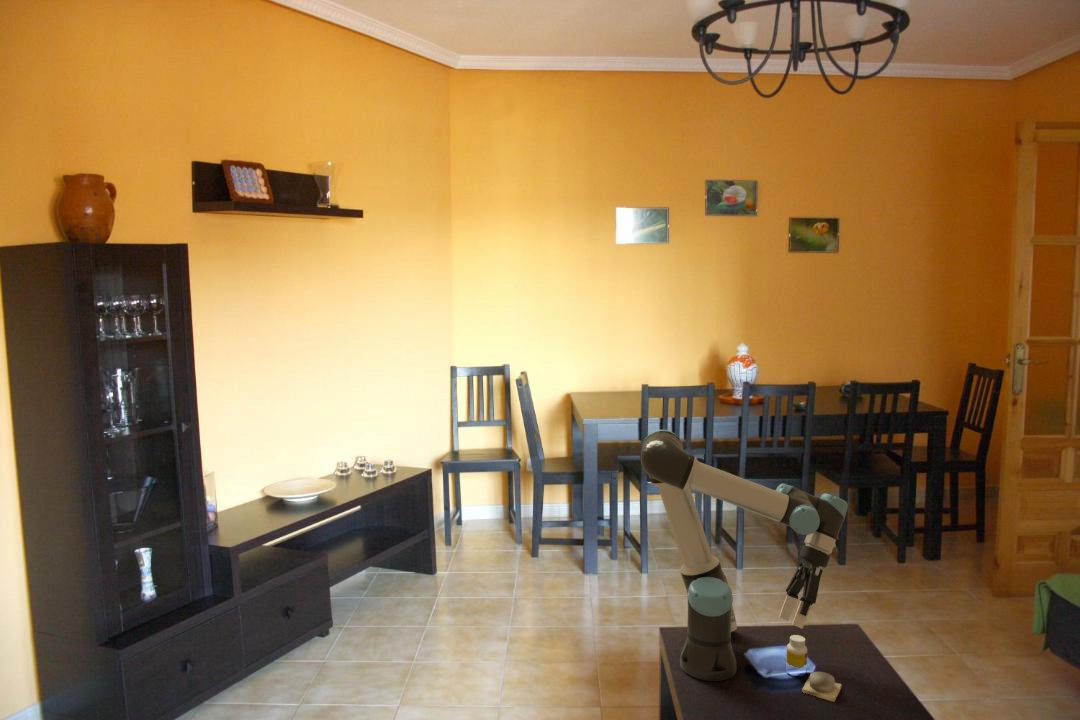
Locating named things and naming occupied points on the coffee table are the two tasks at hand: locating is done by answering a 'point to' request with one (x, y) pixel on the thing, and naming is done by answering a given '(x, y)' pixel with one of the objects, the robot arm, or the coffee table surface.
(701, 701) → the coffee table surface
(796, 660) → the supplement bottle
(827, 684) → the boss
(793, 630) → the coffee table surface
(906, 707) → the coffee table surface
